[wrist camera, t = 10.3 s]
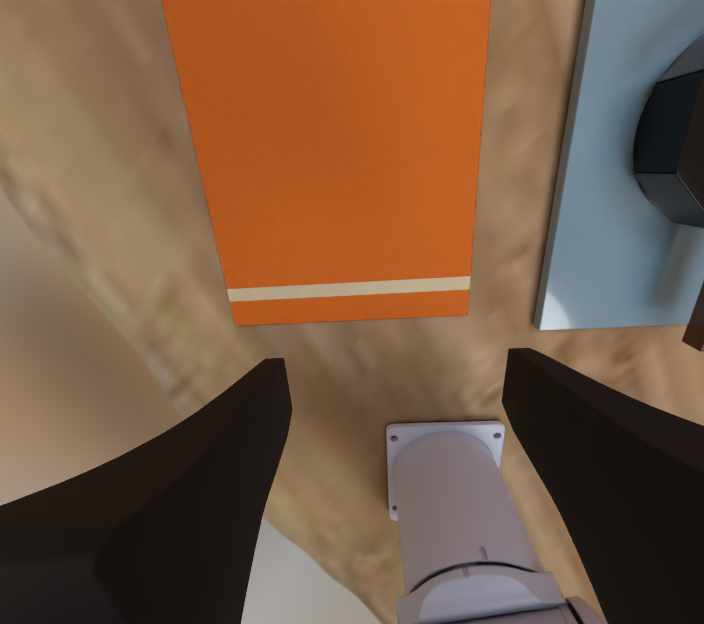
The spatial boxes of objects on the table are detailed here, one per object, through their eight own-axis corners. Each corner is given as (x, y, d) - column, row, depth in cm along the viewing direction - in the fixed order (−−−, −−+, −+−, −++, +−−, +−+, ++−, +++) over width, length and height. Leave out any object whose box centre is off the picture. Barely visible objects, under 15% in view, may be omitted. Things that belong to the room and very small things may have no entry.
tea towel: (466, 313, 20) (467, 315, 20) (236, 324, 21) (234, 326, 21) (503, -193, 12) (506, -202, 12) (131, -144, 13) (126, -152, 13)
